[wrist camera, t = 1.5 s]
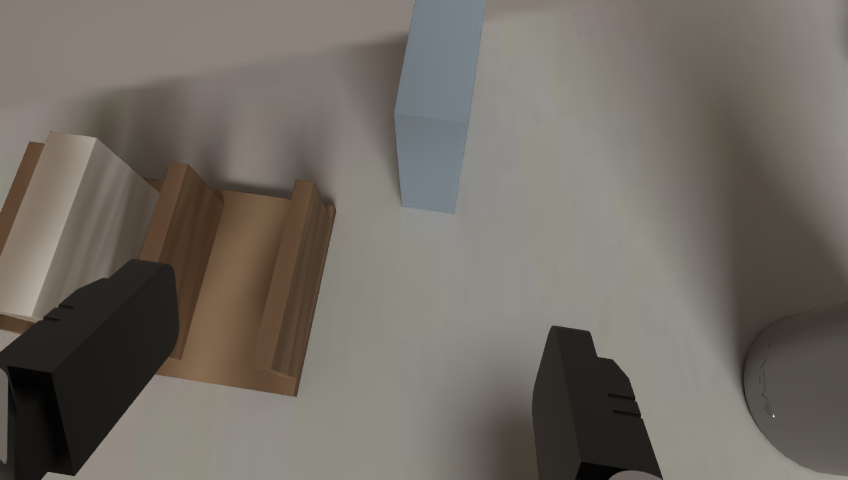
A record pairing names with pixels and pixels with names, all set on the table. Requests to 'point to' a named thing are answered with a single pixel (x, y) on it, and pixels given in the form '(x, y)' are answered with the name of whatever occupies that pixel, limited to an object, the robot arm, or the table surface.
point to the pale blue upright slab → (436, 100)
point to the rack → (170, 256)
